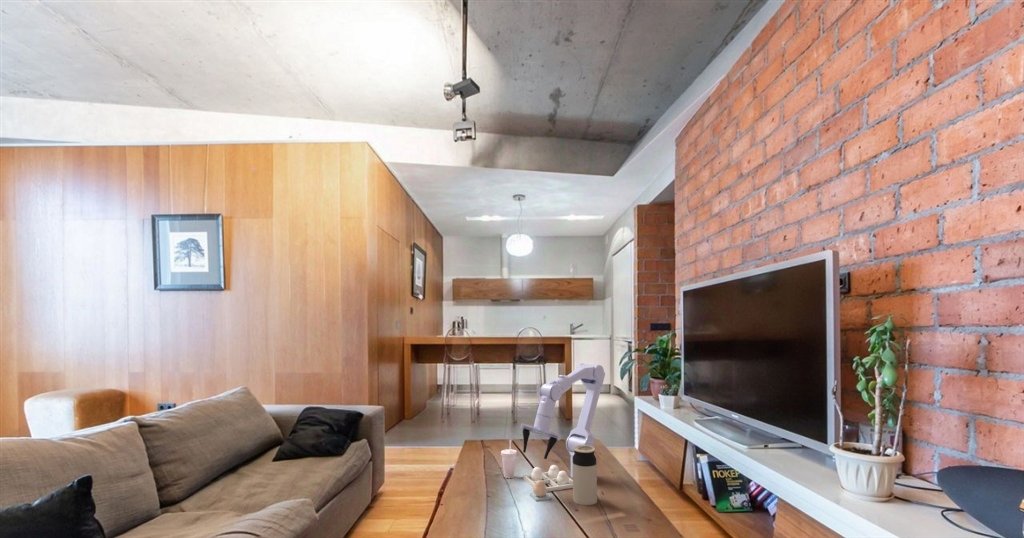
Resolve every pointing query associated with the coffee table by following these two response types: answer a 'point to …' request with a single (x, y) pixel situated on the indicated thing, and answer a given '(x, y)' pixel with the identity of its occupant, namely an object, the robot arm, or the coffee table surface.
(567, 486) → the carton
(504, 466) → the smoothie
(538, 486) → the brown egg
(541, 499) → the egg cup
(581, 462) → the travel mug
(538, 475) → the white eggs
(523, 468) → the coffee table surface
